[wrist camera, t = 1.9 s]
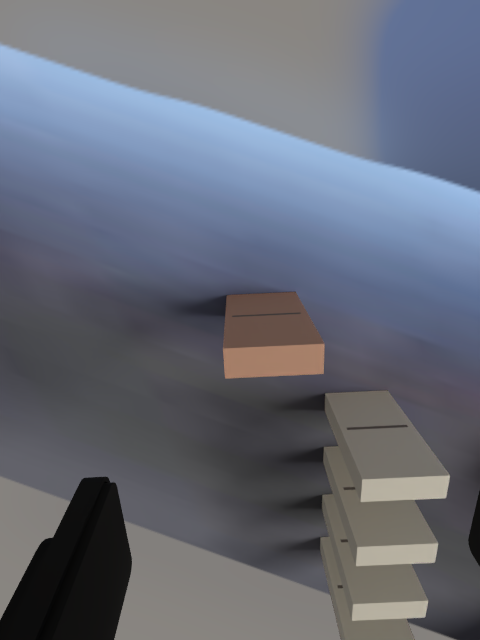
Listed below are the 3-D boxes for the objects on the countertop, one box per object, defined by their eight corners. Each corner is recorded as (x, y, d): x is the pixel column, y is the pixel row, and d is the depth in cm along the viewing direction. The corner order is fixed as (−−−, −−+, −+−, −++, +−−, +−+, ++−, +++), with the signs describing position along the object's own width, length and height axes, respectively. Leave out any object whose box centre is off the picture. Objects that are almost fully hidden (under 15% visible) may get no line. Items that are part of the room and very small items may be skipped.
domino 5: (371, 547, 35) (416, 664, 26) (319, 550, 35) (347, 668, 26) (373, 534, 34) (418, 650, 26) (320, 537, 34) (348, 653, 26)
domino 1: (295, 313, 27) (323, 373, 18) (228, 316, 27) (225, 378, 18) (295, 291, 26) (324, 343, 18) (226, 295, 26) (223, 348, 18)
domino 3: (380, 459, 31) (434, 562, 23) (323, 462, 31) (355, 566, 23) (382, 444, 31) (438, 543, 22) (323, 446, 31) (357, 546, 22)
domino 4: (376, 506, 33) (425, 617, 25) (321, 508, 33) (351, 620, 25) (378, 492, 33) (428, 600, 24) (322, 494, 33) (353, 604, 24)
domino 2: (385, 408, 30) (445, 498, 21) (324, 411, 30) (360, 502, 21) (387, 390, 29) (449, 475, 21) (325, 393, 29) (362, 479, 21)
